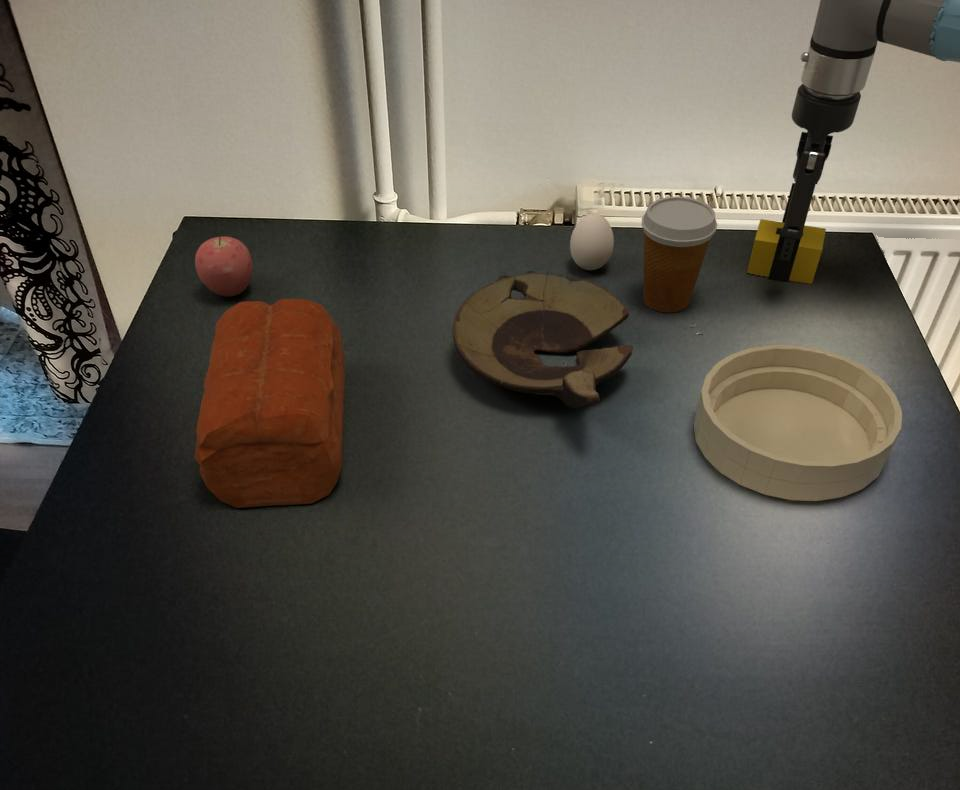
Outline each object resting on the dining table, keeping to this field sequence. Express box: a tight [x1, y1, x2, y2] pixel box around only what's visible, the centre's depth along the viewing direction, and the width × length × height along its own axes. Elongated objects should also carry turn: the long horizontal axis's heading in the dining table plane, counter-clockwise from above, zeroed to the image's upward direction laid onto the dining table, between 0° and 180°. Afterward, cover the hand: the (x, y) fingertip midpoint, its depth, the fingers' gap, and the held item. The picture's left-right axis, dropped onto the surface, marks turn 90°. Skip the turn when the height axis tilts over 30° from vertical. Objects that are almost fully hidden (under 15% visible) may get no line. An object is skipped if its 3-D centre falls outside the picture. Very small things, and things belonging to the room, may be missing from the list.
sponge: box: [746, 218, 827, 285], centre depth 124 cm, size 9×6×5 cm, turn 72°
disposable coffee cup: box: [641, 196, 718, 313], centre depth 117 cm, size 10×10×12 cm
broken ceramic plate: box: [451, 270, 634, 408], centre depth 108 cm, size 22×30×8 cm
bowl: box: [693, 344, 903, 502], centre depth 101 cm, size 22×22×6 cm
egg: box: [569, 212, 615, 271], centre depth 124 cm, size 6×6×8 cm
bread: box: [194, 298, 346, 509], centre depth 101 cm, size 16×27×11 cm, turn 4°
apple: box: [194, 236, 254, 298], centre depth 120 cm, size 7×7×8 cm
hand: (784, 254), depth 125 cm, fingers open, 13 cm apart
